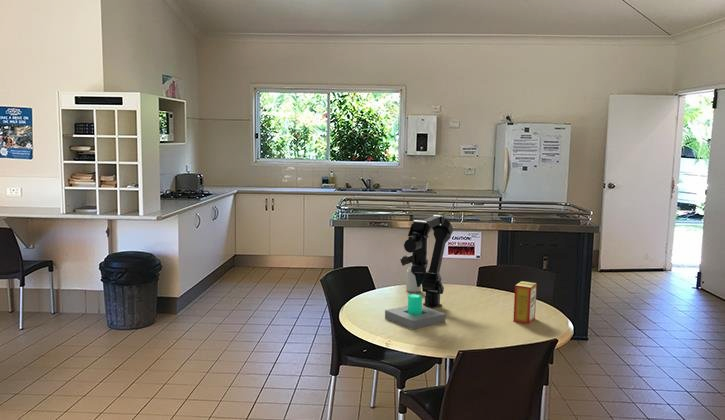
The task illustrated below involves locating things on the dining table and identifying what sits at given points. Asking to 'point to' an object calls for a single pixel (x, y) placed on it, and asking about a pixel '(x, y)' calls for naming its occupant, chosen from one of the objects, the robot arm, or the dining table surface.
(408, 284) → the can
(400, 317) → the socket block
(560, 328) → the dining table surface
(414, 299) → the candle
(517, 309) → the baking soda box
